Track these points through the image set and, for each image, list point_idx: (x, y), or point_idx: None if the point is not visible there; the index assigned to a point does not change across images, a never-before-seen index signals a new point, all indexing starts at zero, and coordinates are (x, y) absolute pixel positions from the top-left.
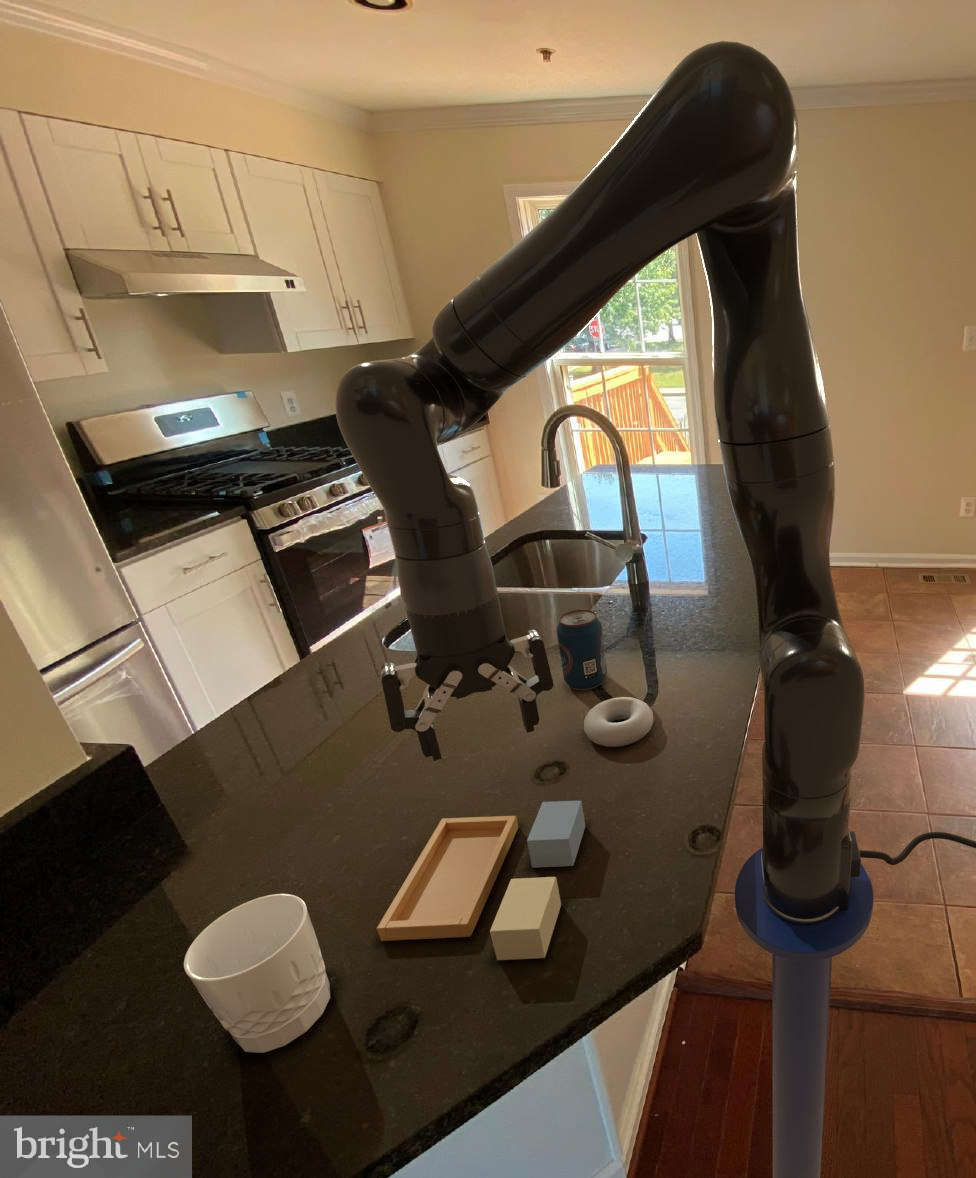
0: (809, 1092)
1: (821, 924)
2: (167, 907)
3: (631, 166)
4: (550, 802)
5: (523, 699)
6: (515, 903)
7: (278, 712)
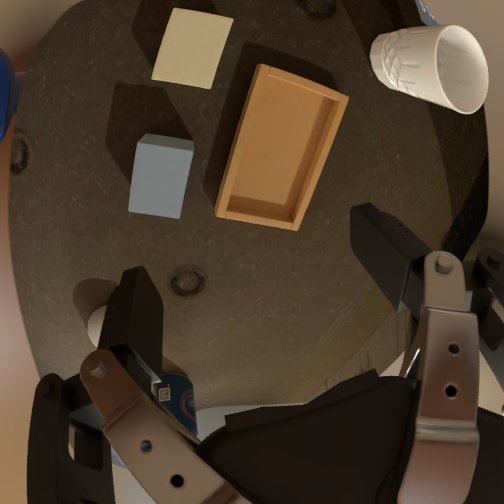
0: None
1: None
2: (451, 200)
3: None
4: (168, 215)
5: (125, 359)
6: (203, 48)
7: (388, 354)
